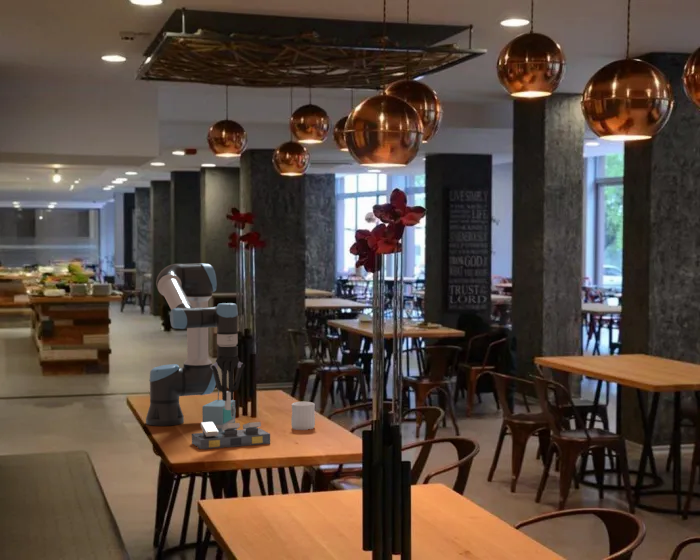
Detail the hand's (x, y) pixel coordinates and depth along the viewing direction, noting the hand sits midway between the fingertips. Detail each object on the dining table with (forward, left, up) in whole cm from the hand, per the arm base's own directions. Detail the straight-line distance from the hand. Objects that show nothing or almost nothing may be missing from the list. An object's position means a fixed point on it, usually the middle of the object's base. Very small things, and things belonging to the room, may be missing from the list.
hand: (227, 409), depth 370 cm
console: (+4, 0, -12) cm, 13 cm away
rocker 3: (+4, +8, -6) cm, 11 cm away
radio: (-16, +2, -12) cm, 21 cm away
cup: (-14, +35, -12) cm, 40 cm away
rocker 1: (+4, -8, -6) cm, 11 cm away
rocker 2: (+4, 0, -6) cm, 7 cm away
